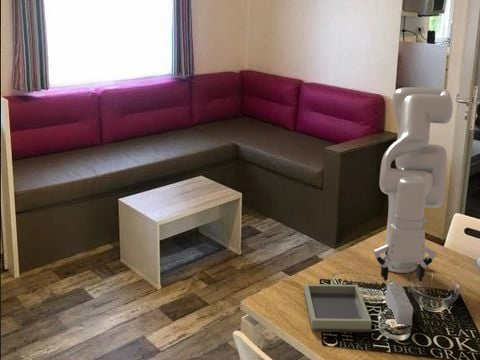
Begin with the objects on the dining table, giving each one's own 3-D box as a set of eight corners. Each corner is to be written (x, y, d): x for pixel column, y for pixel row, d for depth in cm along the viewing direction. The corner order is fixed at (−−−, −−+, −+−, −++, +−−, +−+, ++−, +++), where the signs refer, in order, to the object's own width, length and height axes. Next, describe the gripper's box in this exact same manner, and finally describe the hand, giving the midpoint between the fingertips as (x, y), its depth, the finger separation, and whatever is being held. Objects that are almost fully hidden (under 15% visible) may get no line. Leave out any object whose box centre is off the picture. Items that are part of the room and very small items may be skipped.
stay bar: (398, 301, 172) (400, 283, 170) (410, 327, 159) (413, 308, 157) (385, 301, 172) (387, 283, 170) (396, 327, 159) (398, 308, 157)
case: (356, 295, 175) (357, 284, 173) (370, 332, 156) (371, 321, 155) (304, 294, 175) (304, 284, 173) (311, 331, 156) (312, 320, 154)
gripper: (435, 217, 160) (428, 273, 164) (373, 216, 159) (368, 272, 164) (444, 227, 152) (436, 285, 157) (379, 226, 152) (374, 284, 157)
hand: (401, 278), depth 161 cm, fingers open, 9 cm apart
